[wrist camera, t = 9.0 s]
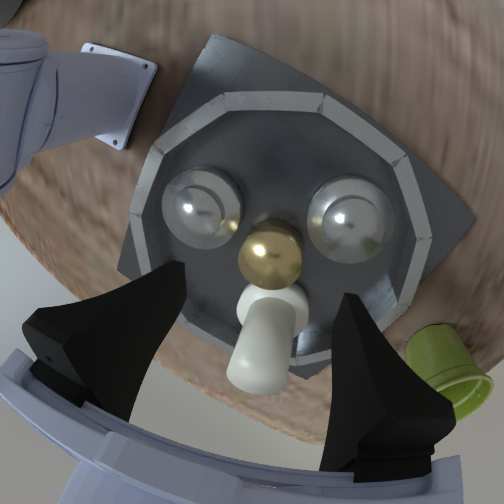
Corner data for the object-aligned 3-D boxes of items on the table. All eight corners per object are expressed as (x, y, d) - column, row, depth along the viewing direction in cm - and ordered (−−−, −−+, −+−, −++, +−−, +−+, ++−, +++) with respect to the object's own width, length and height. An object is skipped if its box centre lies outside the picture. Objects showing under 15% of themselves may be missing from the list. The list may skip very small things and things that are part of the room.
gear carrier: (121, 265, 27) (102, 283, 24) (217, 35, 15) (199, 23, 12) (307, 372, 29) (304, 397, 26) (470, 213, 17) (491, 231, 14)
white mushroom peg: (227, 292, 24) (194, 361, 17) (285, 264, 21) (267, 338, 15) (266, 337, 26) (247, 406, 19) (321, 315, 23) (317, 392, 16)
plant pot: (444, 292, 20) (476, 363, 13) (478, 333, 21) (503, 393, 14) (373, 349, 25) (380, 421, 18) (418, 378, 26) (427, 438, 19)
